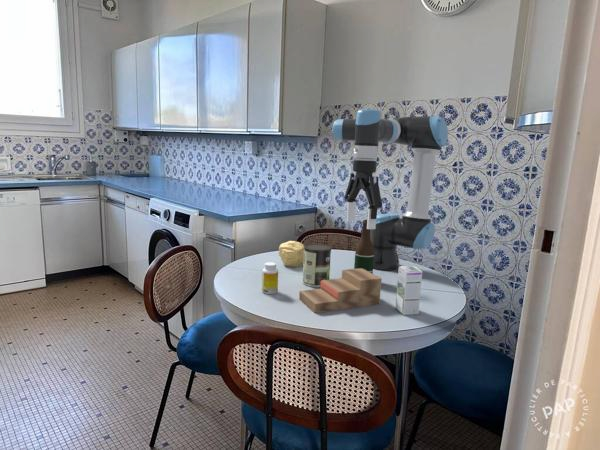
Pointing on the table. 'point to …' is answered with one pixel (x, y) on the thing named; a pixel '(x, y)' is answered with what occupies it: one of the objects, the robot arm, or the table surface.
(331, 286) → the stepped stand
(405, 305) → the syrup box
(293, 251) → the sculpture
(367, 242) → the beer bottle
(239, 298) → the table surface
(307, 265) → the coffee can
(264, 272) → the supplement bottle
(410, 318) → the table surface
